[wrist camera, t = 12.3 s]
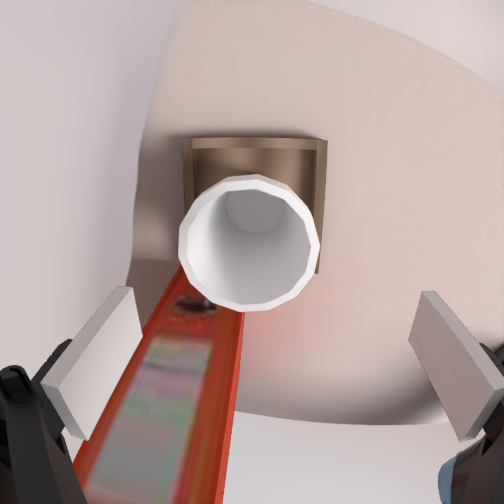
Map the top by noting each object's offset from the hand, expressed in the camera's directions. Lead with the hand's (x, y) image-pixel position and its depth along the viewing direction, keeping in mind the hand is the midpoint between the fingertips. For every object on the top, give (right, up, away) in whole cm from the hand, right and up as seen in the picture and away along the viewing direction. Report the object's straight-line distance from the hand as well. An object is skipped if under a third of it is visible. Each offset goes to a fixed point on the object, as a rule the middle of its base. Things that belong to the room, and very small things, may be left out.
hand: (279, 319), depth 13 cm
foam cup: (-1, +8, +19) cm, 21 cm away
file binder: (-6, -7, +26) cm, 28 cm away
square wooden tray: (-1, +8, +20) cm, 22 cm away
